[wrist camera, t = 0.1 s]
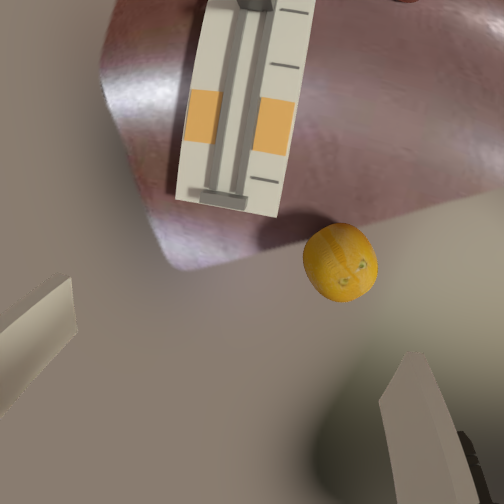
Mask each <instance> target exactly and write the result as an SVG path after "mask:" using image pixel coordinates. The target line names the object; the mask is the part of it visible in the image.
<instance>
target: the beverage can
mask: <svg viewBox="0 0 504 504" xmlns="http://www.w3.org/2000/svg"><path fill="white" fill-rule="evenodd" d="M398 1H401V2H406V3H413V2H416V1H418V0H398Z"/></svg>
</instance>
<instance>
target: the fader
mask: <svg viewBox="0 0 504 504" xmlns="http://www.w3.org/2000/svg"><path fill="white" fill-rule="evenodd" d="M237 3H238V5H239V7H240V8H245V9H252V10H253V11H261V12H263V11H264V10H266V11H273V10H274V5H275V0H237Z"/></svg>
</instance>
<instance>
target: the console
mask: <svg viewBox="0 0 504 504" xmlns="http://www.w3.org/2000/svg"><path fill="white" fill-rule="evenodd" d="M315 1H316V0H275V5H274V10H273V11H266V10H264V11H263V12H261V11H253V10H252V9H245V8H240V7H239V5H238V3H237V0H208V2H207V7H206V11H205V15H204V20H203V24H202V29H201V34H200V38H199V43H198V48H197V53H196V58H195V64H194V69H193V74H192V80H191V86H190V92H189V98H188V104H187V110H186V117H185V123H184V130H183V137H182V145H181V152H180V160H179V169H178V177H177V187H176V196H175V199H177V200H183V201H189V202H195V203H200V204H206V205H212V206H217V207H223V208H228V209H233V210H239V211H244V212H249V213H254V214H260V215H265V216H270V217H275V218H277V214H278V208H279V203H280V198H281V193H282V188H283V182H284V177H285V172H286V166H287V161H288V156H289V150H290V145H291V140H292V134H293V129H294V123H295V118H296V112H297V106H298V101H299V95H300V90H301V84H302V78H303V72H304V67H305V61H306V55H307V49H308V43H309V37H310V31H311V25H312V19H313V13H314V7H315Z"/></svg>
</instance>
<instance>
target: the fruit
mask: <svg viewBox="0 0 504 504" xmlns="http://www.w3.org/2000/svg"><path fill="white" fill-rule="evenodd" d="M303 263H304V268H305V271H306V274H307V276H308V278H309V280H310V281H311V283H312V285H313V286H314V287H315V289H316V290H317V291H318V292H319V293H320V294H322V295H323V296H324V297H326V298H327V299H330V300H332V301H335V302H348V301H352V300H354V299H356V298H358V297H360V296H361V295H363V294H364V293H366V292H367V291H368V290H369V289H370V288H371V287H372V286H373V284H374V282H375V280H376V277H377V273H378V263H377V258H376V255H375V252H374V250H373V248H372V246H371V244H370V243H369V241H368V239H367V238H366V237H365V236H364V234H363V233H362V232H361V231H360V230H358V229H357V228H356V227H354V226H352V225H350V224H346V223H335V224H331V225H329V226H327V227H325V228H323V229H321V230H320V231H318V232H317V233H315V234H314V235H313V236H312V237H311V238H310V239H309V240H308V242H307V243H306V245H305V248H304V251H303Z"/></svg>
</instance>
